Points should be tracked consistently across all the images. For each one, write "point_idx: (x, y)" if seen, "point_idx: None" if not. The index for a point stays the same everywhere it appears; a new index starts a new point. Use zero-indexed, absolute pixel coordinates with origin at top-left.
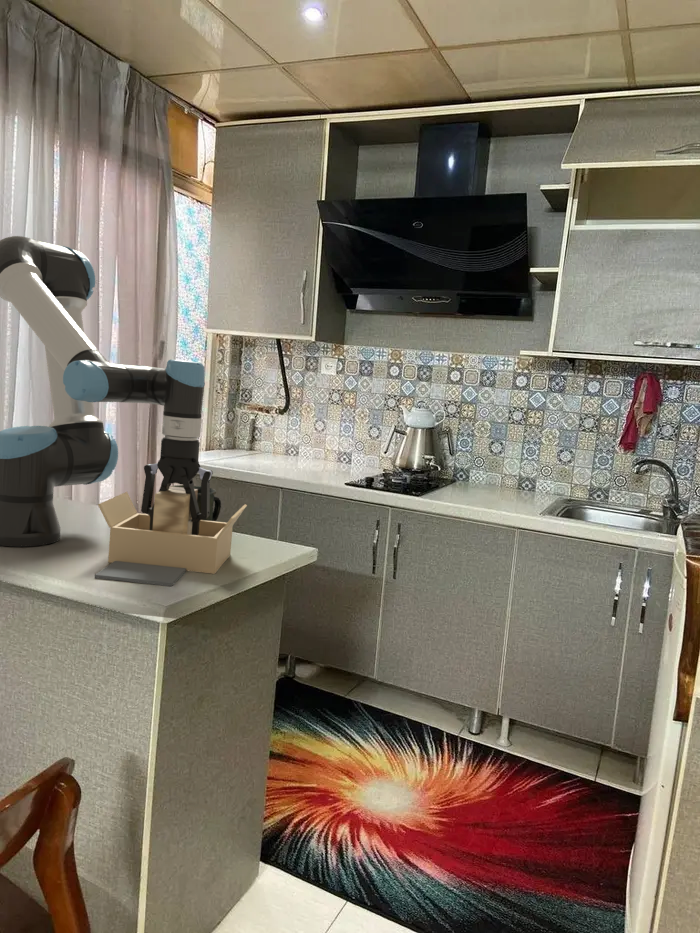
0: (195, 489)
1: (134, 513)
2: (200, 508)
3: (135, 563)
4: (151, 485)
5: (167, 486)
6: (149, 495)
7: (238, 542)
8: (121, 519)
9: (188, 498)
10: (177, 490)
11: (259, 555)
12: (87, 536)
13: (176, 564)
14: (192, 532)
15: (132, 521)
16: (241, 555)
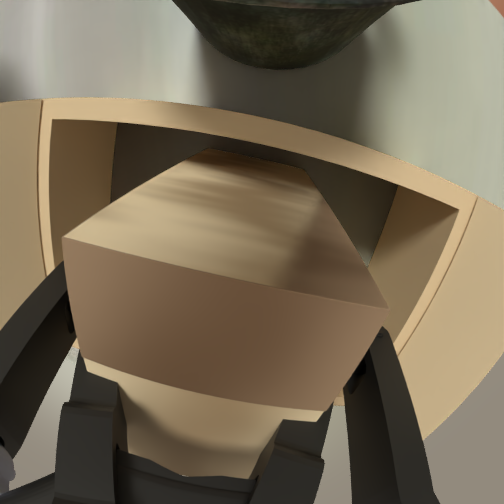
0: (360, 332)
1: (36, 131)
2: (360, 21)
3: None
4: (31, 396)
5: (126, 450)
6: (58, 362)
7: (440, 17)
8: (39, 270)
9: None
10: (187, 399)
11: (482, 165)
12: (13, 70)
13: None
14: None
15: (57, 197)
16: (444, 167)
